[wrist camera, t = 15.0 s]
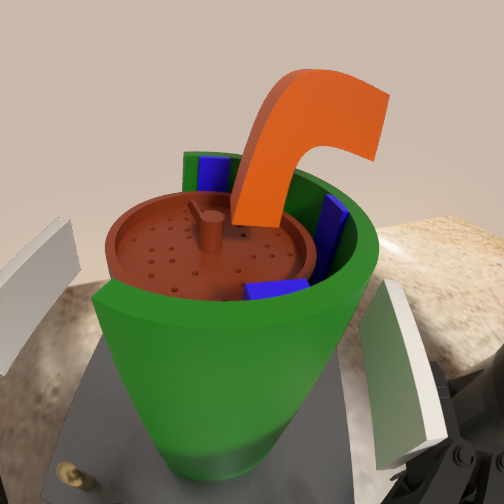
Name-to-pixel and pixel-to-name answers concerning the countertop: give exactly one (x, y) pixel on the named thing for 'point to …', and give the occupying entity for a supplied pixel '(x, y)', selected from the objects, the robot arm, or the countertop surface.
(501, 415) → the robot arm
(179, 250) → the motor
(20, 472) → the countertop surface
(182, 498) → the plate
